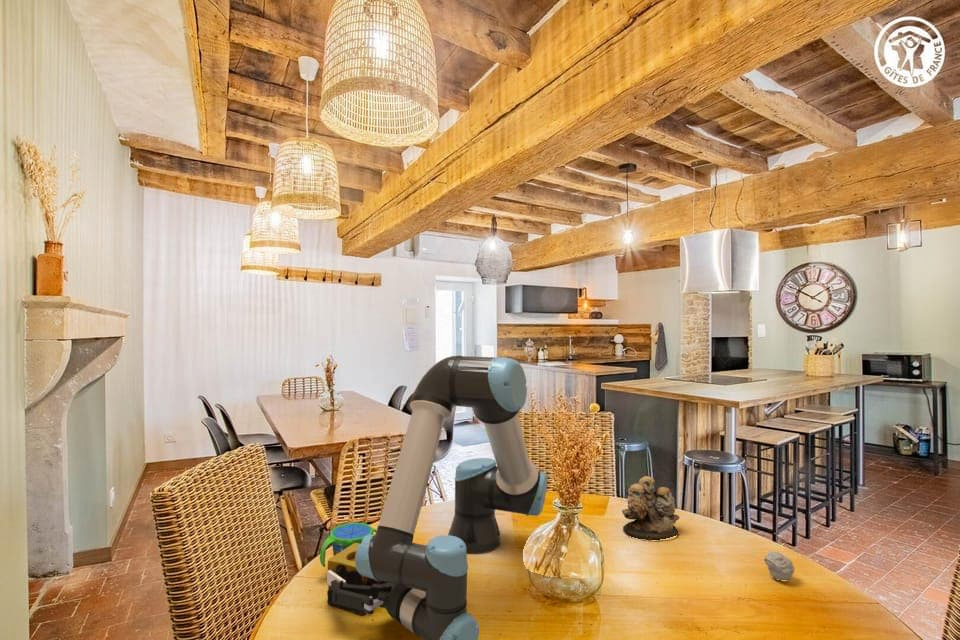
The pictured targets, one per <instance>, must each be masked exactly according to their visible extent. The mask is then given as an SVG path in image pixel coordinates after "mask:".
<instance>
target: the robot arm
mask: <svg viewBox="0 0 960 640" xmlns="http://www.w3.org/2000/svg"><path fill="white" fill-rule="evenodd" d="M527 388H528V387H527V377H526V373H525V371H524V368H523V366H522V365H521V363H520V362H519V361H518V360H516V359H514V358H509V357H508V358H507V357H503V356H496V357H495V356H494V357H493V356H468V355H467V356H463V355H451V356H448V357H445V358H443V359H441V360H439V361H438V362H436V363H435V364H433V366H432V367H430V368H429V369H428V371H426V373H425V374H424V375H423V376H422V378H421V379H420V381H419V382H418V383H417V386H416V388H415V389H414V392H413V394H412V397H411V400H410V404H409V407H410V409H411V411H412V412H411V415H410V418H409V422H408V426H407V428H406V433H405V436H404V438H403V443H402V446H401V449H400V452H399V455H398V459H397V462H396V465H395V468H394V472H393V476H392V478H391V482H390V486H389V488H388V492H387V495H386V499H385V502H384V505H383V509H382V513H381V515H380V518H379V522H378V524H377V525H378V526H377V527H376V530H377V531H376V532H375V534H374V533H373V535H371V534H370V535H367V536H365V537H364V538H363V539H362V541H361V544H360V545H359V546H358V548H357V551H356V556H355V566H356V569H357V571H358V572H359V573H360V574H361V575H363V576H366V577H369V578H372V579H375V580H376V581H384V582H387V583H384V584H373V585H372V586H364V585H352V584H346V581H345V580H344V579H342V578H341V577H340V576H338V575H337V574H335V573H334V572H333V571H331V570H329V571H328V570H327V571H326V584H327V585H330V586H331V590H333V603H334V604H338V605H342V606H346V607H350V608H354V609H357V610H361V611H364V612H365V614H367V615H369V616H370V615H371V616H372V614H374V609H376V608H378V607H380V608H384V609H385V610H386V612H387V613H388V615H389V616H390V617H391V619H393V620H395V621H396V622H397V623H399V624H401V625H402V626H404V627H405V628H406V629H408V630H409V631H411V632H412V633H413V634H414V635H416V636H417V637H419V638H420V639H422V640H479V637H480V625H479V622H478V621H477V619H476V618H475V617H474V616H473V615H472V613H470V612H468V610H467V607H468V601H467V587H468V584H467V583H468V569H469V567H468V566H469V565H468V554H484V553H489V552H492V551H494V550H496V549H498V548H499V546H501V536H502V535H501V532H500V528H499V525H498V522H497V518H496V511H501V512H502V511H503V512H507V513H514V514H519V515H524V516H525V515H526V517H528V516H533V517H538V516H541V514H542V512H543V509H544V505H545V501H546V494H547V486H548V475H547V473H546V472H544V471H541V470H540V471H538V468H537V466H536V464H535V462H534V461H532V460H530V457H529V453H528V449H527V445H526V442H525V436H524V433H523V429H522V424H521V421H520V417H519V413H520V411H521V410H522V409H523V408H524V406H525V404H526V402H527V394H528V391H527V390H528V389H527ZM454 407H463V408H471V409H472V412H473V414H474V416H475V418H476V419H477V420H478V421H479V422H481V423H483V425H484V428H485V431H486V435H487V438H488V441H489V444H490V447H491V451H492V453H493V457H494V459H493V458H489V457H479V458H472V459H467V460H464V461H462V462H459V464H458V465H457V466H456V468H455V476H454V515H453V519H452V521H451V525H450V527H449V531H448V533H447V535H438V536H435V537H433V538H431V539H430V540H429V541H428V542H427V544H420V543H415V542H413V541H414V536H415V531H416V528H417V525H418V521H419V516H420V513H421V509H422V507H423V506H422V505H423V502H424V498H425V495H426V491H427V488H428V482H429V479H430V476H431V473H432V469H433V465H434V461H435V457H436V453H437V450H438V446H439V443H440V439H441V435H442V432H443V427H444V424H445V421H446V420H448V419H449V418H450V417H451V415H452V411H453V408H454ZM375 590H378V591H377V598H376V597H375Z"/></svg>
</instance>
